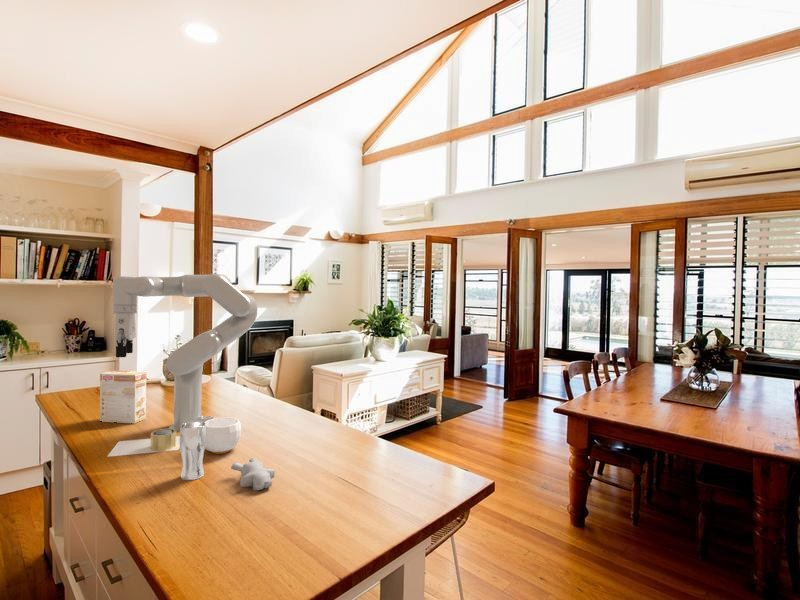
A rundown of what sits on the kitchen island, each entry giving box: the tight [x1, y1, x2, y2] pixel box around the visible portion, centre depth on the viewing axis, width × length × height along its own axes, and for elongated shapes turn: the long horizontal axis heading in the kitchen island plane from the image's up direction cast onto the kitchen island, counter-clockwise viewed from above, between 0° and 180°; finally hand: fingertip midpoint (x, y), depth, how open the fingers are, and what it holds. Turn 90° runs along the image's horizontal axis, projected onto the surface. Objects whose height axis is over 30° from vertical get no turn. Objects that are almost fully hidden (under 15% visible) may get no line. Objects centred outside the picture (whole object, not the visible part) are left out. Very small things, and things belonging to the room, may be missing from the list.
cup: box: [205, 416, 242, 455], centre depth 143 cm, size 12×12×10 cm
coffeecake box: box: [99, 370, 147, 424], centre depth 171 cm, size 15×7×20 cm, turn 84°
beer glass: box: [179, 421, 206, 481], centre depth 124 cm, size 7×7×15 cm
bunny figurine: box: [230, 457, 276, 492], centre depth 121 cm, size 10×5×15 cm
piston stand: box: [106, 430, 180, 458], centre depth 143 cm, size 20×14×6 cm
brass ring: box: [150, 427, 177, 452], centre depth 142 cm, size 7×7×5 cm
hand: (124, 355), depth 160 cm, fingers open, 9 cm apart
